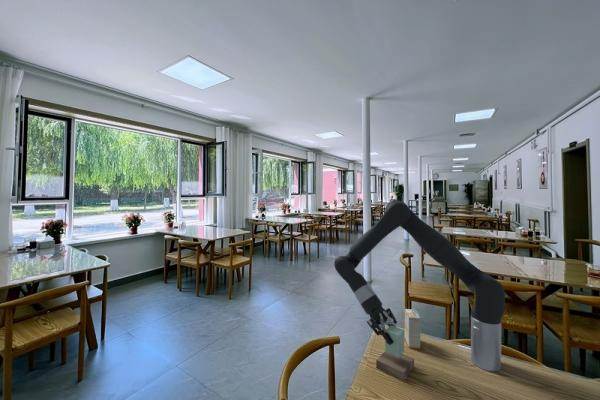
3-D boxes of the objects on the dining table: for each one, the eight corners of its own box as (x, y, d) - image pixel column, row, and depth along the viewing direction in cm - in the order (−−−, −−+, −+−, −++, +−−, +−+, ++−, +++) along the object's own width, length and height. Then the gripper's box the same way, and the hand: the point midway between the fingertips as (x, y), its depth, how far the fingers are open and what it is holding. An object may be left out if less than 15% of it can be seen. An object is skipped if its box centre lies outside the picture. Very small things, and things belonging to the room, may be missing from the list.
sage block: (391, 345, 98) (391, 325, 98) (404, 351, 95) (404, 329, 94) (385, 351, 94) (385, 330, 94) (398, 357, 91) (398, 335, 91)
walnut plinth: (388, 355, 102) (388, 347, 102) (414, 366, 95) (414, 358, 95) (376, 367, 94) (376, 359, 94) (403, 381, 88) (403, 372, 87)
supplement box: (421, 349, 105) (421, 318, 105) (408, 348, 106) (408, 317, 106) (416, 338, 113) (416, 309, 113) (404, 337, 114) (404, 308, 114)
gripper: (362, 299, 96) (392, 344, 87) (383, 289, 105) (411, 329, 97) (351, 308, 100) (378, 352, 91) (372, 298, 110) (398, 337, 101)
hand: (395, 340), depth 94 cm, fingers closed on sage block, 5 cm apart
